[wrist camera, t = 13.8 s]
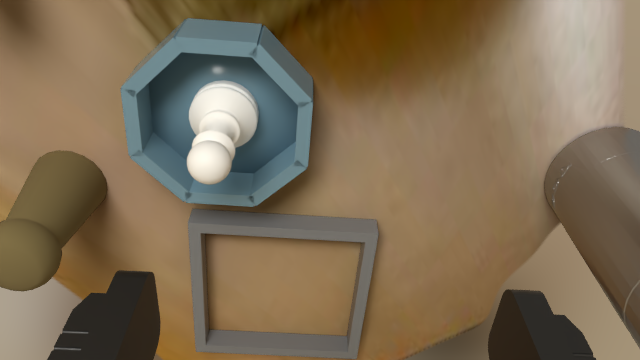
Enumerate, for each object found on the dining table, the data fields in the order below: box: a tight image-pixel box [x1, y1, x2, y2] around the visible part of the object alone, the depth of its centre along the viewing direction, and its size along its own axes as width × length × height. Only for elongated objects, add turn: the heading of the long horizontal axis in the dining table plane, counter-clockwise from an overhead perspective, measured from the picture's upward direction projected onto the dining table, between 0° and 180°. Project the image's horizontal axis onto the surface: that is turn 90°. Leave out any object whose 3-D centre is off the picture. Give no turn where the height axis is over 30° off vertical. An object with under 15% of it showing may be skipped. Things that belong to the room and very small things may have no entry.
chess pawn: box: [187, 80, 259, 185], centre depth 38 cm, size 5×5×9 cm
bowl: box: [121, 18, 313, 207], centre depth 40 cm, size 13×13×4 cm
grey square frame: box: [188, 209, 379, 359], centre depth 51 cm, size 16×16×2 cm
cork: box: [0, 151, 107, 291], centre depth 41 cm, size 6×6×11 cm
